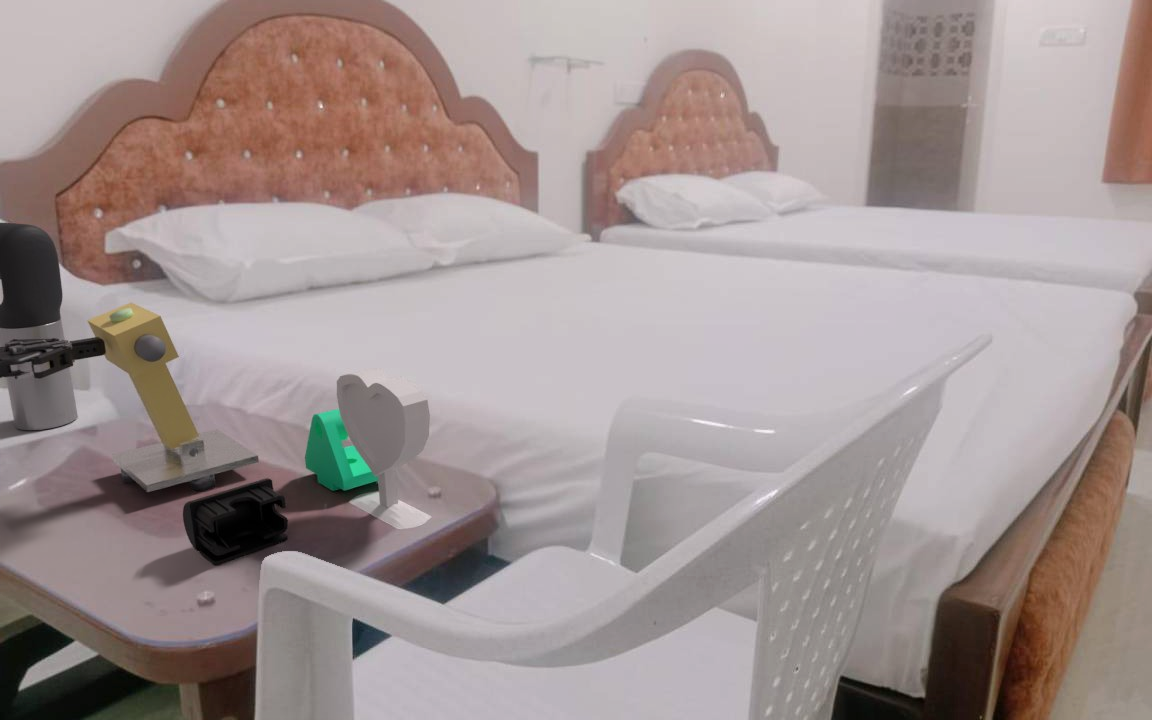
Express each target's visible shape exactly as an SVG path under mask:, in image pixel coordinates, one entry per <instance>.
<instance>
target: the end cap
mask: <svg viewBox="0 0 1152 720" xmlns="http://www.w3.org/2000/svg"><path fill="white" fill-rule="evenodd" d="M286 505H287V502H286V498H285V497H284V495H282V494H280V493H278V492H277V491H275V489H274V485H273V479H272V478H268V477H267V478H262V479H259V480H257V481H253V482H252V481H251V482H249V483H246V484H242V485H239V486H236V487H233V488H229V489H227V490H223V491H220V492H219V491H218V492H217V493H213V494H208V495H206V496H203V497H200V498H196V499H194V500H190V501H187V502H186V503H185V504H184V506H183V510H182V519H183V526H184V530H185V533H186V535H187V538H188V540H189V543H190V544H191V546H192V547H193V549H194V550H195V551H196V552H199V554H200V555H201V556H202V557H203V558H204V559H205V560H207V561H208V562H209V563H210V564H211V565H212V566H216V567H218V566H222V565H224V564H227V563H230V562H233V561H235V560H238V559H241V558H244V557H247V556H249V555H252V554H256V553H258V552H261V551H264V550H266V549H269V548H273V547H274V546H277V545H278V546H279V545H281V544H282V543H286V542H287V541H288V534H287V533H286V532H287V531H288V528H289V526H288V525H289V524H288V522H289V520H288V518H287V517H286V516H285V515H283V514H282V513H280V512H278V510H277V508H276V506H277V507H279V508H281V509H282V510H283V509H287V507H286Z"/></svg>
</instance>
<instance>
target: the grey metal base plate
mask: <svg viewBox="0 0 1152 720" xmlns="http://www.w3.org/2000/svg"><path fill="white" fill-rule="evenodd" d="M198 435H199V436H198V437H196V438H194V439H192V440H190V441H186V442H182V443H179V446H178V447H177V448H175V449H173V450H171V449H170V448H169V447H167V446H166V445H165V444H163V443H162V442H159V443H155V444H151V445H147V446H146V445H145V446H142V447H138V448H134V449H130V450H124V451H121V452H117V453H113V454H111V456H112V462H114V463H115V464H116V465H117V466H118V467H119V468H120V473H121V480H122V483H123V484H127V485H128V484H129V485H130V484H133V485H134V484H138V486H140V487H141V488H142V489H144V490H145V491H146V493H150V492H153V491H157V490H161V489H165V488H168V487H172V486H176V485H179V484H183V483H187V482H189V487H190V490H191V491H192V492H196V493H199V492H206V491H209V490H213V488H215V487H216V479H215V475H216V474H219V473H224V472H227V471H231V470H235V469H238V468H242V467H245V466H250V465H253V464H257V463H259V455H258V454H257V453H254V452H253V450H250V449H249V448H247V447H245V446H244V445H243V444H241V443H240V442H238V441H236V440H235V439H233V438H232V437H230V436H228V435H227V434H225V432H222V431H221V430H219V429H218V428H217V429H211V430H208V431H205V432H200V433H198Z"/></svg>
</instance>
